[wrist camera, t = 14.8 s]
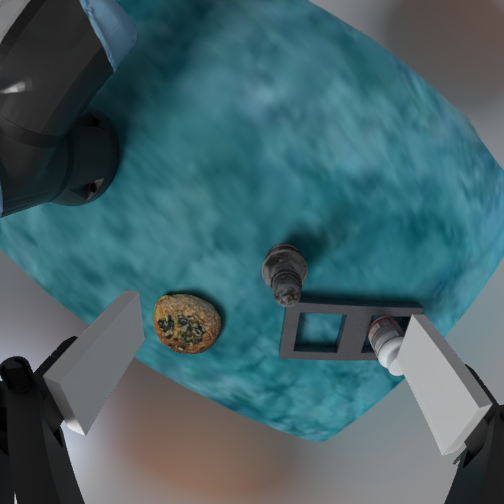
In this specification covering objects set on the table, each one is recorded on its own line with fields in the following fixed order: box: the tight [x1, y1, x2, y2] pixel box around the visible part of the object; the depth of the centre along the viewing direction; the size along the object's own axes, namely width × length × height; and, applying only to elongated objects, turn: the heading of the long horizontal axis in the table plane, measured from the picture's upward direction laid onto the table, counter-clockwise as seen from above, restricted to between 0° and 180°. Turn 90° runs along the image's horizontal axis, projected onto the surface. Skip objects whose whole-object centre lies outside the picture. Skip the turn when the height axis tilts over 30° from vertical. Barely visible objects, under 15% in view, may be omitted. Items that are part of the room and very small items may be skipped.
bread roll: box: [154, 294, 221, 354], centre depth 42 cm, size 11×11×5 cm
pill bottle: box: [367, 316, 405, 376], centre depth 38 cm, size 5×5×10 cm
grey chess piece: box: [262, 244, 308, 307], centre depth 34 cm, size 6×6×12 cm
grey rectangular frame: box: [279, 296, 424, 360], centre depth 42 cm, size 22×10×2 cm, turn 86°
